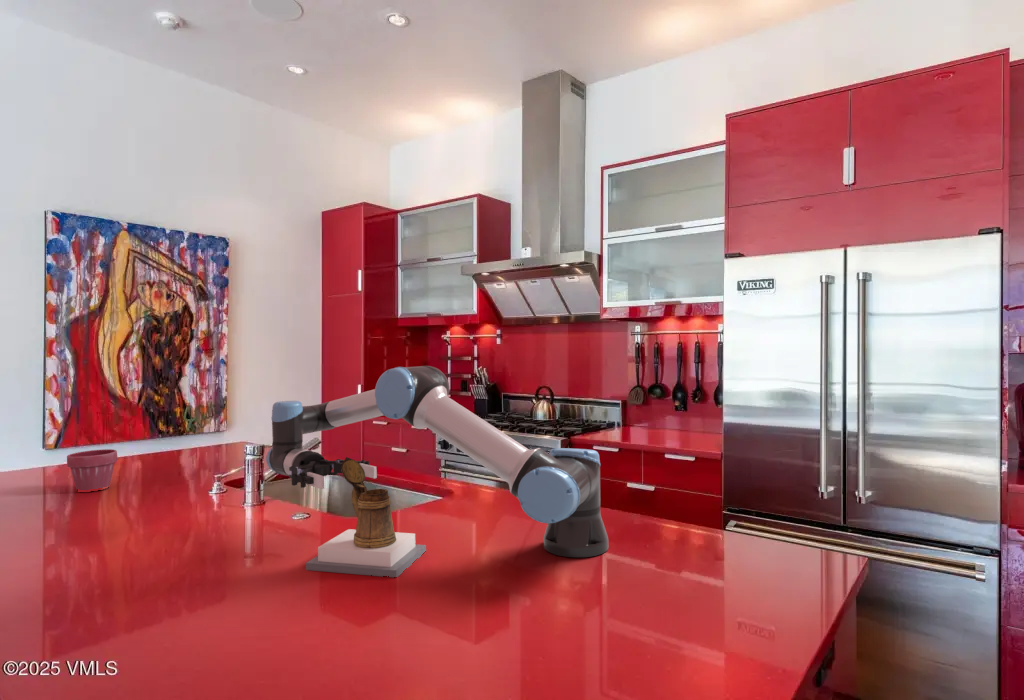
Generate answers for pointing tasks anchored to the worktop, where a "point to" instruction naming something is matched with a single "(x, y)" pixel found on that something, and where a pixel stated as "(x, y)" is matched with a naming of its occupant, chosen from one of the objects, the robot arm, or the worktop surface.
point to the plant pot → (92, 468)
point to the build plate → (368, 568)
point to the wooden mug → (369, 509)
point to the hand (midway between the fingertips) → (350, 477)
